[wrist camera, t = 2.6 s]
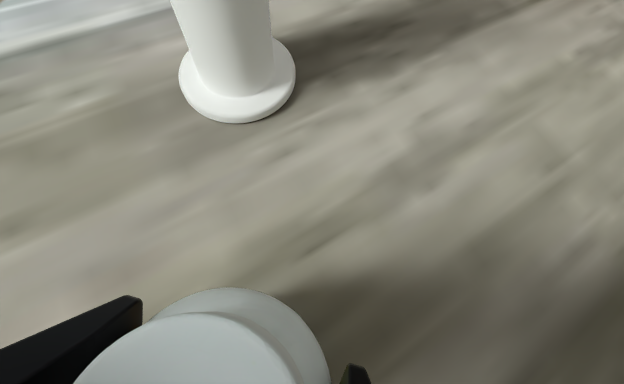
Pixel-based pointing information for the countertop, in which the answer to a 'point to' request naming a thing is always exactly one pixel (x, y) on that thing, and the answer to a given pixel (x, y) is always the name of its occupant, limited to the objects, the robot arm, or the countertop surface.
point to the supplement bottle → (215, 345)
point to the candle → (232, 60)
